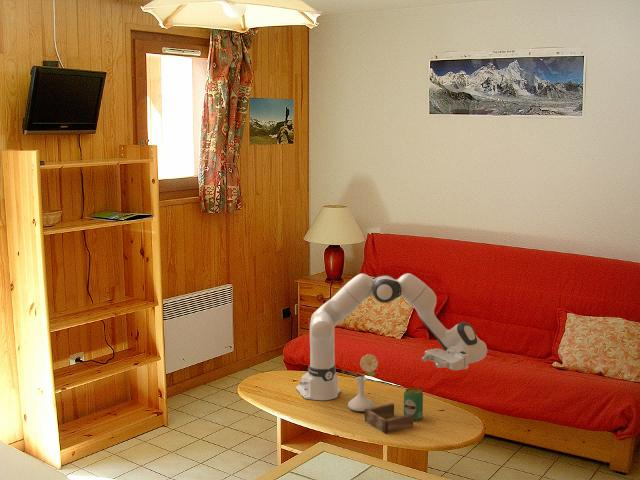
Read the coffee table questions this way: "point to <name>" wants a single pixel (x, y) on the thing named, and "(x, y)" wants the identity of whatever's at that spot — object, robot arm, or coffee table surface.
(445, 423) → the coffee table surface
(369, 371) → the flower in vase
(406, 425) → the walnut bracket
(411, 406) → the beverage can
